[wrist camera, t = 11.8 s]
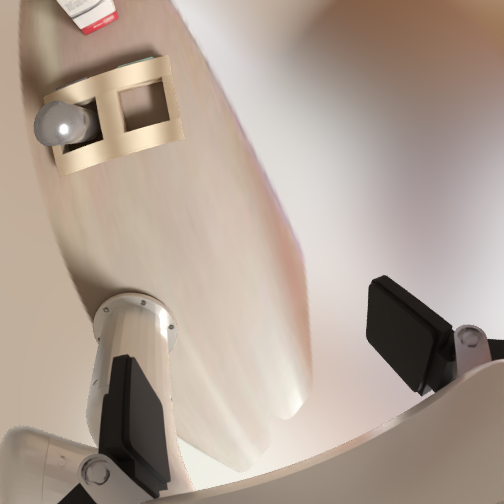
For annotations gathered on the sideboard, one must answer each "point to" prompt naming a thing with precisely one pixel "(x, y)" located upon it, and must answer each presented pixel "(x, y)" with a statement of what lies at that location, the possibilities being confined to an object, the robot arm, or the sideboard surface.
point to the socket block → (117, 113)
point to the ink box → (90, 13)
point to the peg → (65, 124)
